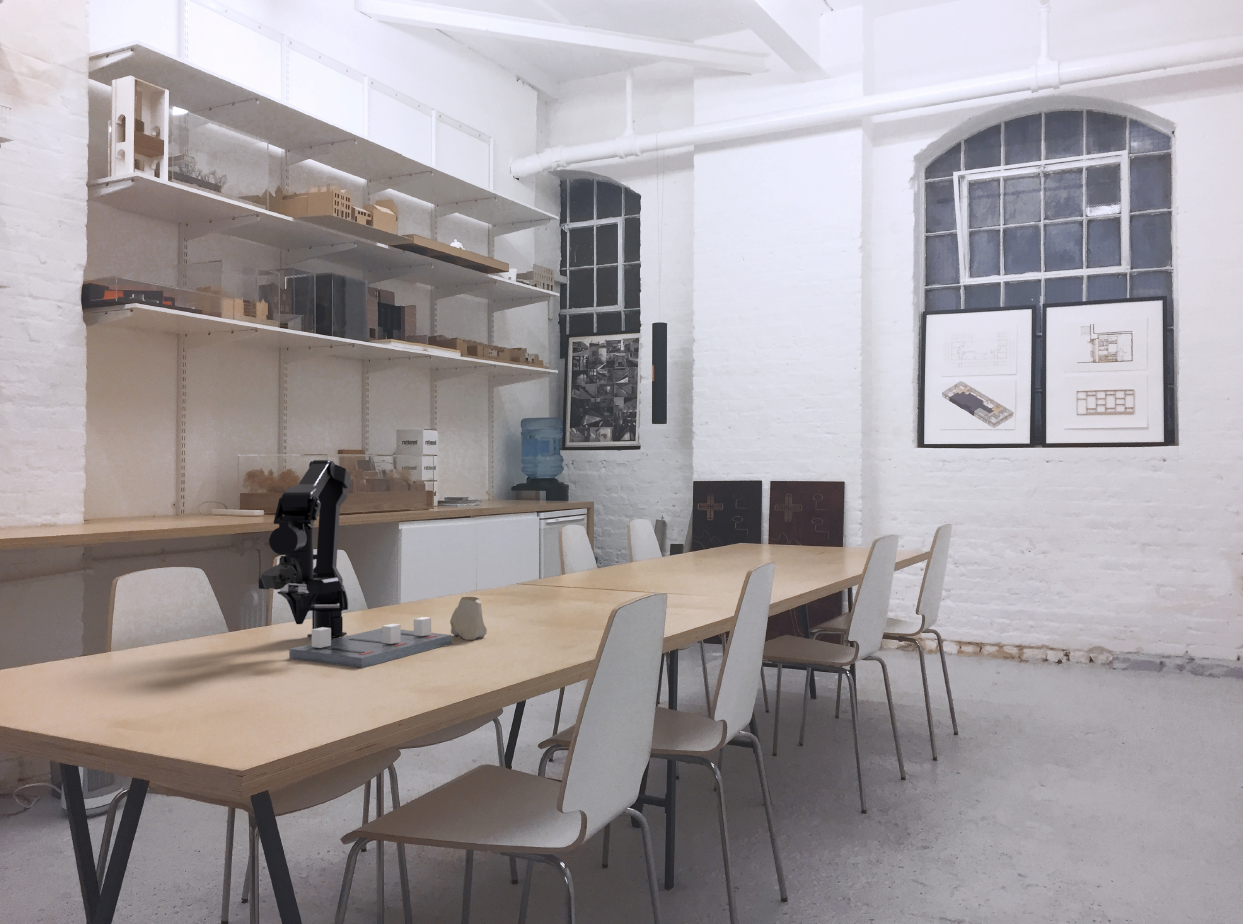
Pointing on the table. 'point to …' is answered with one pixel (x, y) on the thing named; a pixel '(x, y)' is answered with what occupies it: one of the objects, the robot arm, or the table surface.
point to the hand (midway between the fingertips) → (299, 624)
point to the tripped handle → (321, 637)
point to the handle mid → (391, 633)
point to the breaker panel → (369, 648)
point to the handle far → (422, 626)
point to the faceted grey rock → (468, 619)
